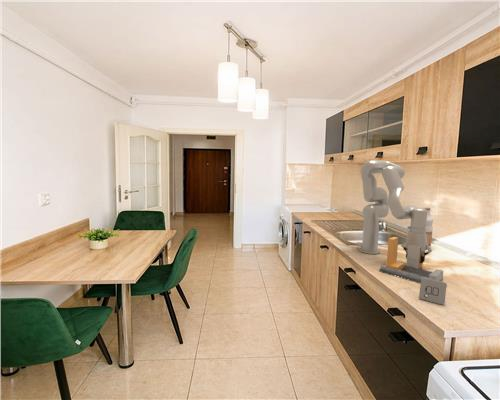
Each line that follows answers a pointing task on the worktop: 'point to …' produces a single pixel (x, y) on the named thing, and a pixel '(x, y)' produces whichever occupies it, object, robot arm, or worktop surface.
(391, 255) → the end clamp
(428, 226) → the fruit juice
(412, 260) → the small box
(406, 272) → the din rail
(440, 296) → the electrical switch
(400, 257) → the worktop surface
